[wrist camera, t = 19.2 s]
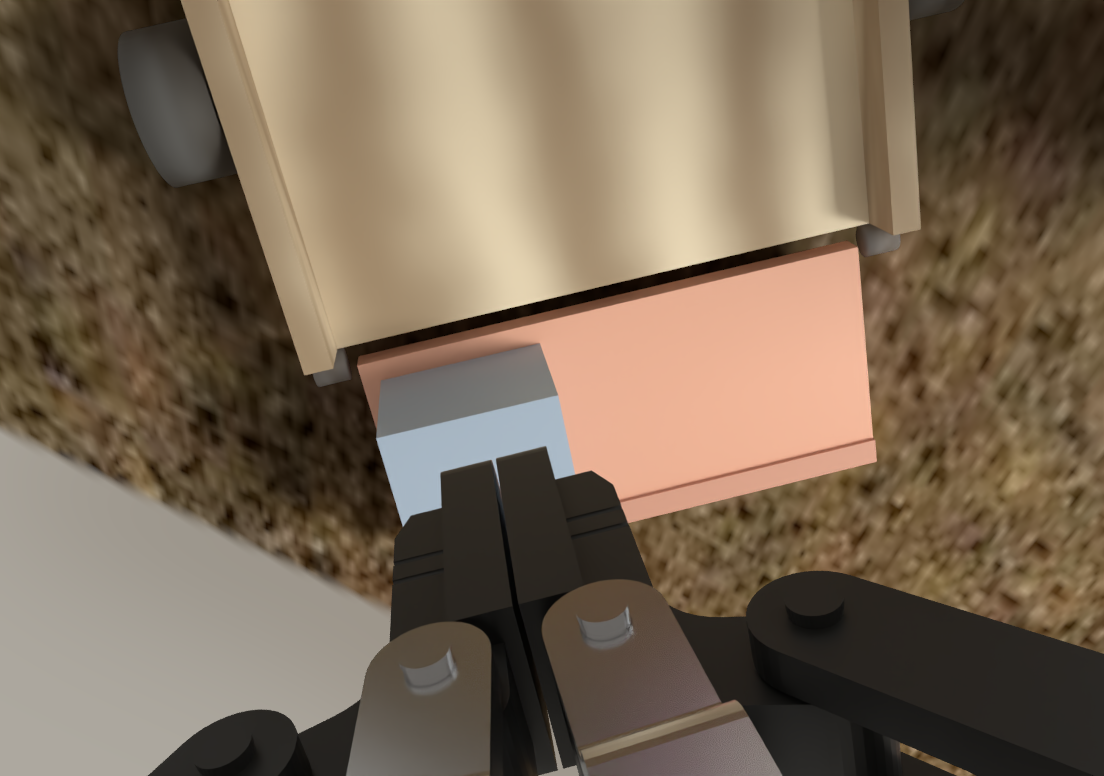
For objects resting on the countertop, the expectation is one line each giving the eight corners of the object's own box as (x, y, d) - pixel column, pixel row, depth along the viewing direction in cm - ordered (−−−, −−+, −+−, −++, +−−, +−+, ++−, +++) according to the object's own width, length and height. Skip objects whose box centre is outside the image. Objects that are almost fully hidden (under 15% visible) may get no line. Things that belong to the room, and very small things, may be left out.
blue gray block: (539, 343, 36) (558, 395, 32) (574, 504, 39) (596, 573, 35) (380, 380, 36) (376, 438, 31) (427, 540, 39) (429, 614, 34)
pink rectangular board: (859, 248, 36) (876, 461, 40) (844, 239, 38) (862, 446, 41) (356, 368, 36) (420, 574, 39) (358, 354, 37) (420, 555, 40)
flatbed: (896, -289, 33) (974, -335, 28) (923, 220, 40) (990, 251, 35) (94, -117, 32) (39, -135, 27) (265, 376, 39) (245, 428, 34)
